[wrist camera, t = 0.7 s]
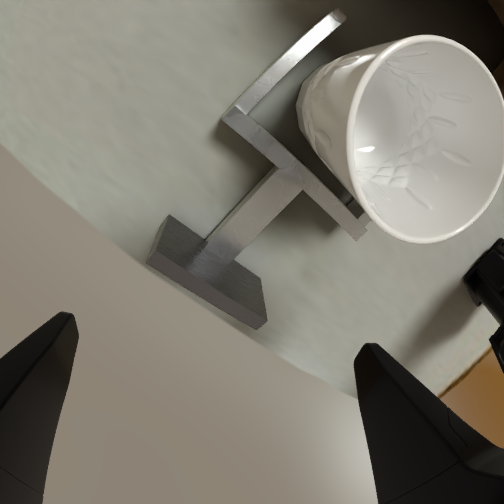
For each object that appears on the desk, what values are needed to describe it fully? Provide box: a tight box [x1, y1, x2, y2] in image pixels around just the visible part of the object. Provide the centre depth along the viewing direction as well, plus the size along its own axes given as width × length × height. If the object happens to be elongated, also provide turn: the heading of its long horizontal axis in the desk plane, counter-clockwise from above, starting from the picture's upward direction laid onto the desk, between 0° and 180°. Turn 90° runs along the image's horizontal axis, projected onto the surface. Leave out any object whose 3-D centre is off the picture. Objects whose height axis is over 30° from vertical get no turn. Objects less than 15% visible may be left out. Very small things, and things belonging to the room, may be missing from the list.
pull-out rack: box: [146, 8, 371, 330], centre depth 16 cm, size 11×17×4 cm, turn 138°
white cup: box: [296, 35, 504, 244], centre depth 13 cm, size 8×8×10 cm
